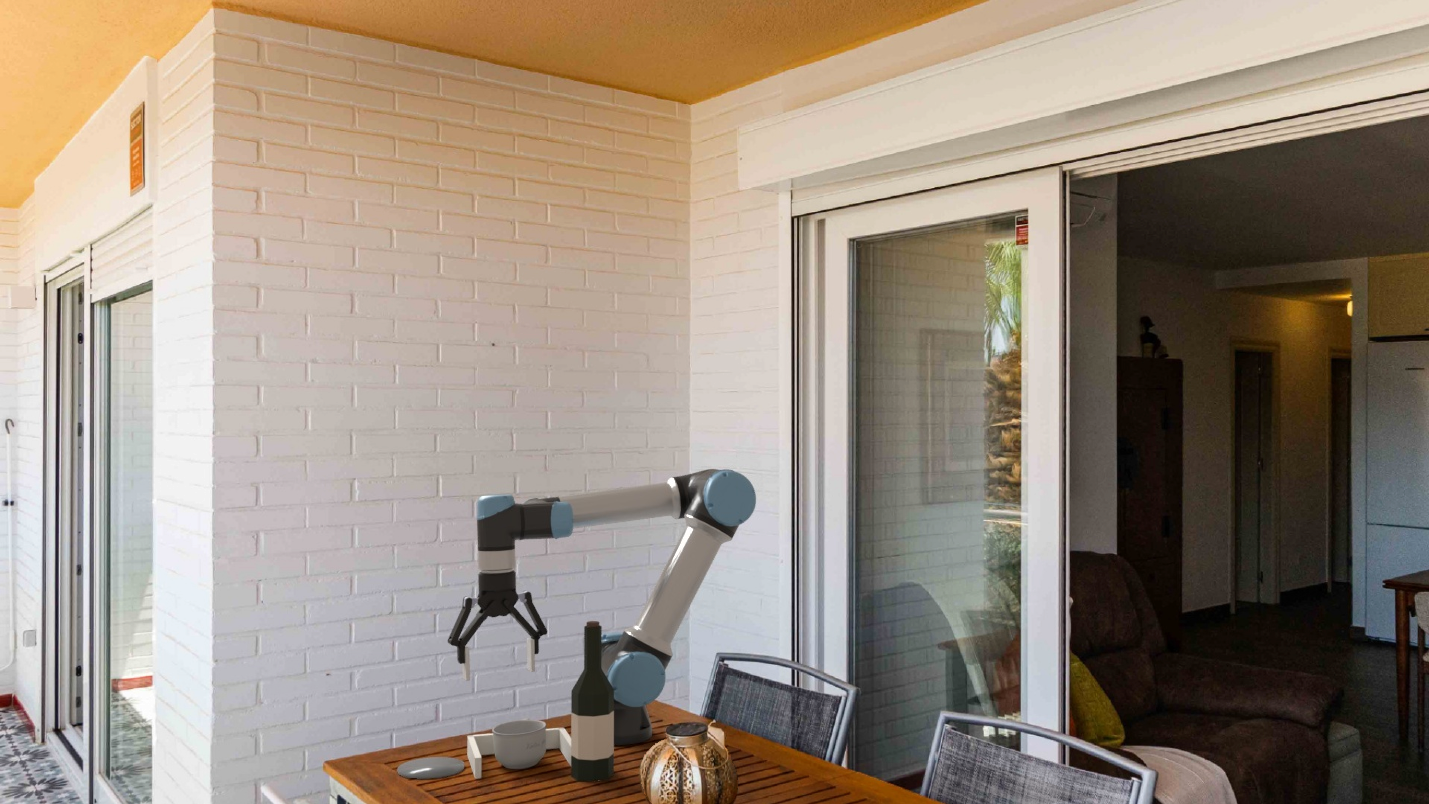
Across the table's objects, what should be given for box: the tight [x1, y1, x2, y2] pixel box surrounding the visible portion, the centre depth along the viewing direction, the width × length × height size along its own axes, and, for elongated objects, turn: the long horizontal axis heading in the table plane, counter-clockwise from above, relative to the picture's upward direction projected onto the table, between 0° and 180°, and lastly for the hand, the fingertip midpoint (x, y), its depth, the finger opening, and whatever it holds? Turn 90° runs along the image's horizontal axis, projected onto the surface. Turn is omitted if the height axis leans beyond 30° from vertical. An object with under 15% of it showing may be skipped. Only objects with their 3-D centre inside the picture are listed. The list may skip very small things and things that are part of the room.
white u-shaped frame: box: [466, 727, 571, 780], centre depth 222 cm, size 20×17×4 cm
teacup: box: [491, 717, 547, 770], centre depth 222 cm, size 14×11×8 cm
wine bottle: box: [570, 620, 615, 783], centre depth 214 cm, size 8×8×30 cm
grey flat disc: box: [396, 756, 465, 780], centre depth 217 cm, size 13×13×1 cm
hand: (499, 675), depth 221 cm, fingers open, 13 cm apart
